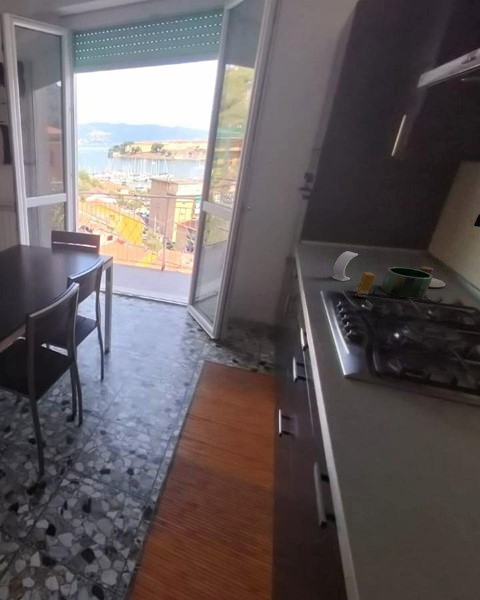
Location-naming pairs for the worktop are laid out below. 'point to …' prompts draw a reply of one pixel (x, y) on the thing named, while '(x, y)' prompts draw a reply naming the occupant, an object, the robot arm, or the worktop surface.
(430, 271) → the tin lid
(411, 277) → the lunch tin
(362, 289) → the supplement box
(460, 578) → the worktop surface
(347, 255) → the headphone stand
